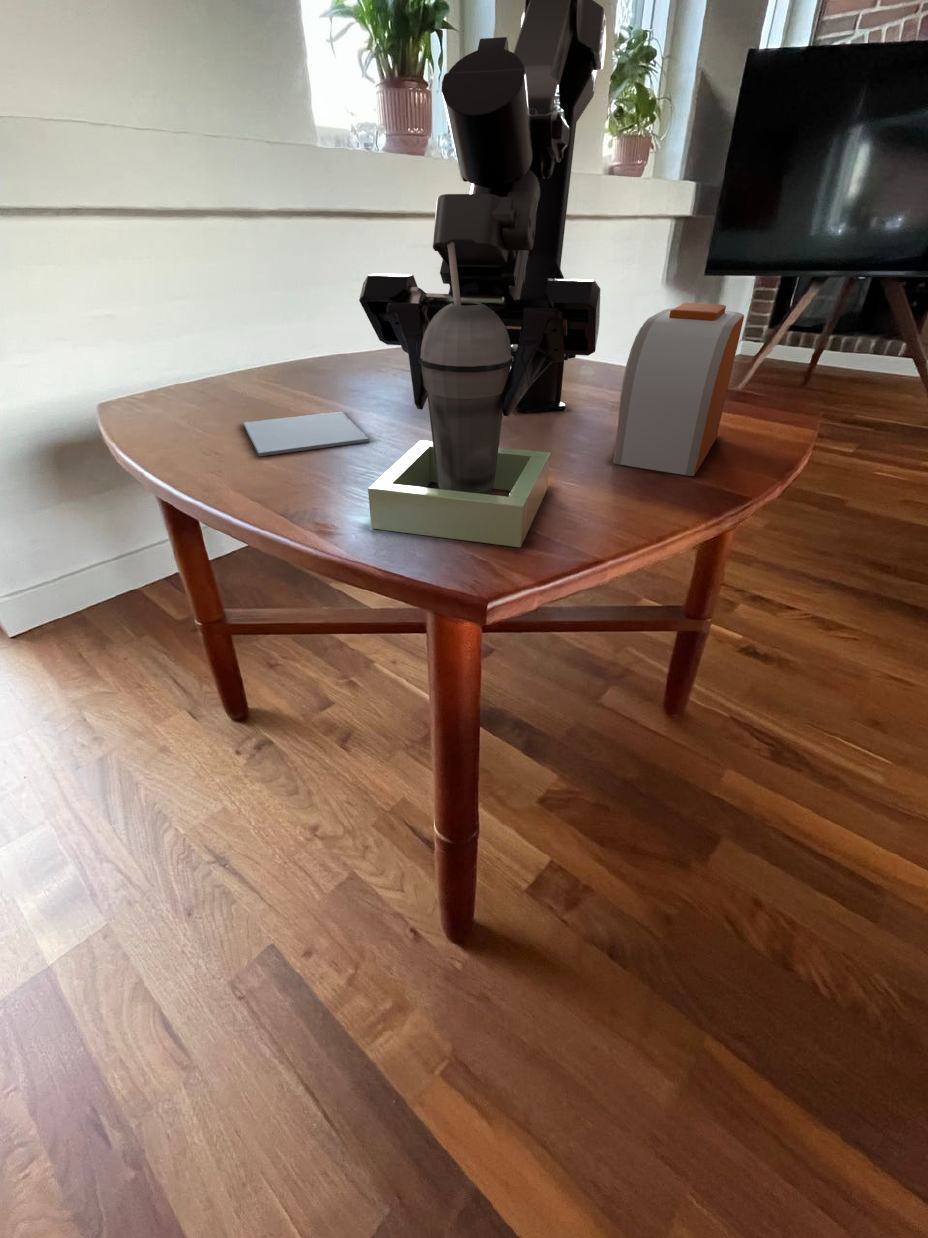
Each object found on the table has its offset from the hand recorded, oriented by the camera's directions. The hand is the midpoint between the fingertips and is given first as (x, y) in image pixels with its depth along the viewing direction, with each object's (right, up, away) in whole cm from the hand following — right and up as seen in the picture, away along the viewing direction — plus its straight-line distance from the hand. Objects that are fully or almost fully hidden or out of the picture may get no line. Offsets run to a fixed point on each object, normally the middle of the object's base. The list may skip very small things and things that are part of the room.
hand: (460, 410), depth 48 cm
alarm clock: (+22, +2, +19) cm, 30 cm away
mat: (-18, +5, +23) cm, 30 cm away
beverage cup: (0, -6, +6) cm, 8 cm away
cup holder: (0, -7, +6) cm, 9 cm away
